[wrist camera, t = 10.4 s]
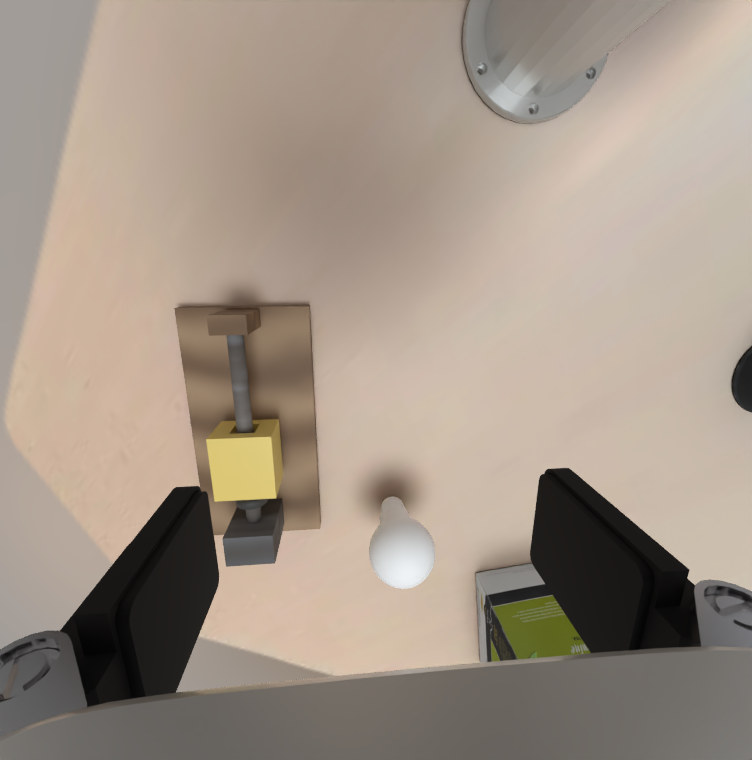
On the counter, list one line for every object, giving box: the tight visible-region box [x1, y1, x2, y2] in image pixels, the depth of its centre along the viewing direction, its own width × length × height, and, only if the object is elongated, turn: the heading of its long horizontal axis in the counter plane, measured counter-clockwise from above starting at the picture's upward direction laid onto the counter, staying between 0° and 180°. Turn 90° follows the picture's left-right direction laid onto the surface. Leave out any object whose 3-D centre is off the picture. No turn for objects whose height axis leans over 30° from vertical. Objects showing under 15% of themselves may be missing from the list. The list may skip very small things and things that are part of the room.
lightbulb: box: [369, 497, 435, 589], centre depth 37 cm, size 6×6×11 cm
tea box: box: [476, 563, 591, 663], centre depth 42 cm, size 15×10×15 cm, turn 7°
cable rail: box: [175, 306, 321, 566], centre depth 35 cm, size 24×12×7 cm, turn 0°
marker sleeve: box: [206, 419, 283, 502], centre depth 35 cm, size 6×5×4 cm
